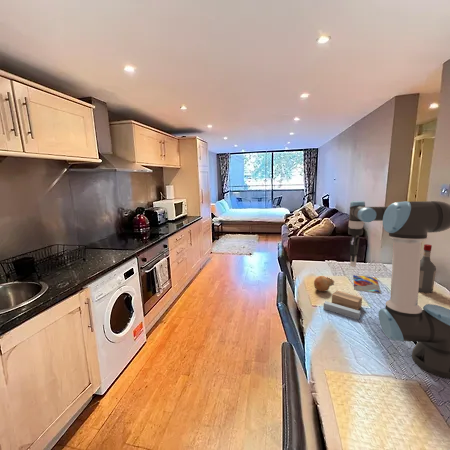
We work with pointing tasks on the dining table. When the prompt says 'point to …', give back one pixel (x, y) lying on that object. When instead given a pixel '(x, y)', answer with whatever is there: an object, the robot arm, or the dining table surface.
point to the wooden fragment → (330, 281)
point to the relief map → (366, 284)
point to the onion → (321, 283)
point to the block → (346, 300)
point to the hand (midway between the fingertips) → (352, 266)
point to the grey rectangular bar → (342, 310)
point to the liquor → (426, 271)
